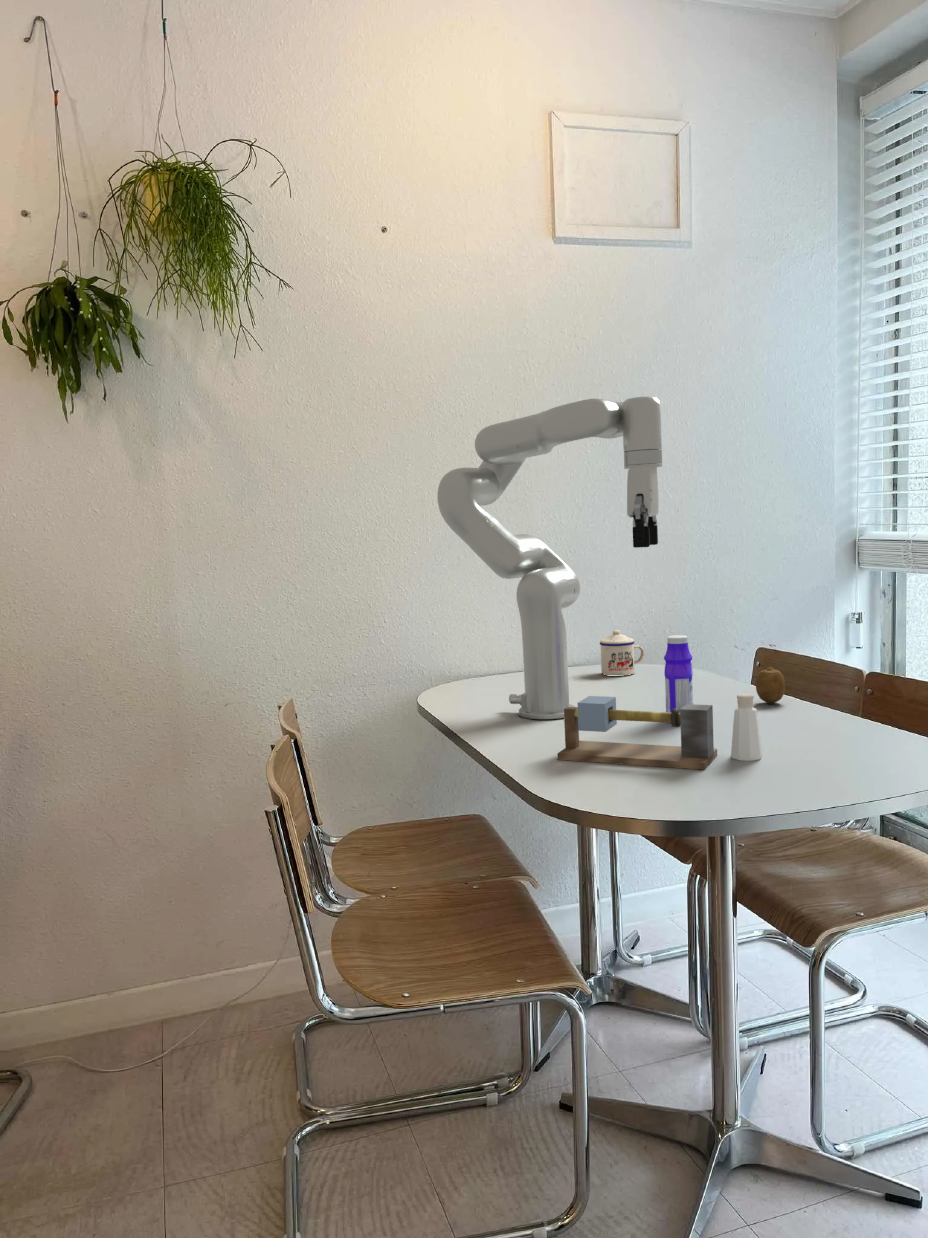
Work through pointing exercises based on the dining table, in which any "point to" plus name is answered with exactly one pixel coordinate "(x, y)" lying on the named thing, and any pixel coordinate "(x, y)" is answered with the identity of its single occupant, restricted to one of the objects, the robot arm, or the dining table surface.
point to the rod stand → (690, 754)
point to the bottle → (678, 673)
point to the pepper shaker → (746, 731)
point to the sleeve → (596, 713)
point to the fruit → (770, 685)
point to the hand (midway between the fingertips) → (645, 545)
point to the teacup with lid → (618, 654)
